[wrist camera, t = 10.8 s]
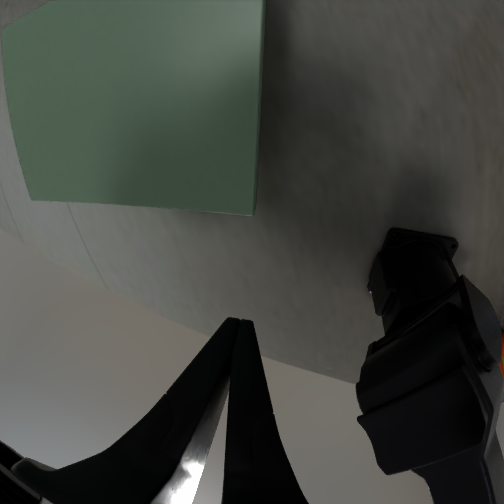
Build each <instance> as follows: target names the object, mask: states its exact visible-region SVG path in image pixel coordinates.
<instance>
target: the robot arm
mask: <svg viewBox="0 0 504 504" xmlns="http://www.w3.org/2000/svg"><path fill="white" fill-rule="evenodd" d="M393 234H396V235H395V236H392V235H393ZM452 244H453V245H452ZM451 245H452V246H451ZM457 248H458V242H457V240H456V239H455V238H450V237H445V236H440V235H435V234H429V233H424V232H418V231H412V230H406V229H400V228H392V229H390V230H389V231H388V234H387V237H386V239H385V242H384V245H383V247H382V250H381V251H380V252H379V253H378V254H377V257H376V259H375V262H374V264H373V267H372V269H371V272H370V274H369V283H368V285H367V288H368V292H370V293H372V296H373V301H374V307H375V313H376V314H377V316H382V321H383V327H384V333H385V336H384V337H382V338H381V339H379V340H378V341H374V342H373V343H371V344H370V345H369V346H368V351H367V355H366V359H365V362H364V364H363V366H362V367H361V373H360V379H359V382H357V383H356V394H357V400H358V403H359V407H360V409H361V411H362V413H363V415H360V416H358V417H357V421H358V423H359V424H360V425H361V426H362V427H363V428H364V430H365V431H366V433H367V435H368V436H369V438H370V440H371V443H372V446H373V449H374V453H375V457H376V461H377V464H378V466H379V467H380V468H381V469H382V471H383V472H384V473H385V474H386V475H392V474H396V473H400V472H404V471H408V470H411V471H413V472H414V473H416V474H417V475H419V476H420V477H422V478H423V479H424V480H425V482H426V484H427V487H428V490H429V493H430V496H431V499H432V502H433V504H504V459H503V455H502V451H501V448H500V445H499V441H498V438H497V434H496V424H497V420H498V416H499V410H500V406H501V400H502V394H503V388H504V378H503V375H502V372H501V369H500V367H499V364H500V363H501V360H502V327H501V323H500V321H499V319H498V317H497V315H496V313H495V311H494V309H493V307H492V305H491V303H490V301H489V300H488V299H487V298H486V297H485V296H484V295H483V294H482V293H481V292H480V291H479V290H478V289H477V288H476V287H475V286H474V285H473V284H472V283H471V282H470V281H469V280H468V279H467V278H466V277H465V276H464V275H463V274H462V275H461V276H460V277H459V275H458V272H457V270H456V268H455V266H454V264H453V262H452V258H453V256H454V254H455V252H456V250H457ZM228 391H229V400H228V415H227V431H226V448H225V463H224V480H223V493H222V502H221V504H309V503H308V502H307V500H306V498H305V496H304V495H303V493H302V491H301V489H300V486H299V484H298V482H297V480H296V477H295V475H294V472H293V470H292V468H291V465H290V463H289V460H288V458H287V455H286V453H285V450H284V447H283V445H282V442H281V439H280V436H279V432H278V429H277V425H276V421H275V416H274V414H273V408H272V404H271V399H270V395H269V390H268V387H267V382H266V377H265V373H264V369H263V364H262V359H261V355H260V350H259V346H258V341H257V337H256V332H255V328H254V323H253V321H252V320H246V319H241V320H240V319H238V318H232V317H228V318H227V319H226V320H225V321H224V322H223V323H222V325H221V326H220V327H219V328H218V330H217V331H216V332H215V333H214V335H213V336H212V337H211V338H210V340H209V341H208V342H207V343H206V344H205V346H204V347H203V348H202V349H201V351H200V352H199V353H198V354H197V355H196V357H195V358H194V359H193V360H192V362H191V363H190V364H189V365H188V366H187V368H186V369H185V370H184V371H183V372H182V374H181V375H180V376H179V377H178V379H177V380H176V381H175V382H174V383H173V385H172V386H171V387H170V388H169V389H168V391H167V392H166V393H167V394H164V395H163V396H162V398H161V399H160V400H159V401H158V402H157V403H156V405H155V406H154V407H153V408H152V409H151V410H150V411H149V412H148V413H147V414H146V415H145V416H144V417H143V418H142V419H141V420H140V421H139V422H138V423H137V424H136V425H134V426H133V427H132V428H131V429H130V430H129V431H128V432H127V433H126V434H124V435H123V436H122V437H121V438H120V439H119V440H117V441H116V442H115V443H114V444H113V445H112V446H110V447H109V448H107V449H106V450H104V451H103V452H101V453H99V454H97V455H94V456H92V457H89V458H87V459H85V460H82V461H79V462H77V463H74V464H71V465H68V466H66V467H63V468H60V469H55V468H52V467H49V466H47V465H44V464H42V463H39V462H38V461H35V460H33V459H30V458H24V457H23V456H21V455H20V454H19V453H17V452H16V451H15V450H13V449H12V448H11V447H9V446H8V445H6V444H5V443H3V442H2V441H0V504H191V503H192V500H193V497H194V494H195V491H196V488H197V485H198V483H199V480H200V479H199V478H200V477H201V473H202V470H203V468H204V465H205V462H206V459H207V456H208V453H209V450H210V447H211V444H212V441H213V437H214V435H215V432H216V429H217V426H218V422H219V419H220V416H221V413H222V410H223V407H224V404H225V401H226V398H227V395H228Z"/></svg>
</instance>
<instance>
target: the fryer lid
mask: <svg viewBox="0 0 504 504" xmlns="http://www.w3.org/2000/svg"><path fill="white" fill-rule="evenodd" d="M265 14H266V0H52V1H50V2H48V3H46V4H45V5H43V6H41V7H39V8H37V9H35V10H33V11H32V12H30V13H28V14H26V15H25V16H23V17H21V18H20V19H18V20H17V21H15V22H13V23H12V24H10V25H9V26H7V27H6V28H4V29H3V30H2V58H3V72H4V82H5V90H6V98H7V105H8V111H9V117H10V122H11V127H12V132H13V137H14V141H15V145H16V150H17V154H18V158H19V161H20V165H21V169H22V172H23V176H24V179H25V182H26V186H27V189H28V192H29V195H30V198H31V200H37V201H62V202H82V203H100V204H116V205H131V206H145V207H158V208H170V209H182V210H193V211H204V212H214V213H224V214H234V215H243V216H254V213H255V209H256V197H257V177H258V157H259V137H260V117H261V97H262V76H263V56H264V35H265Z"/></svg>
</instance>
